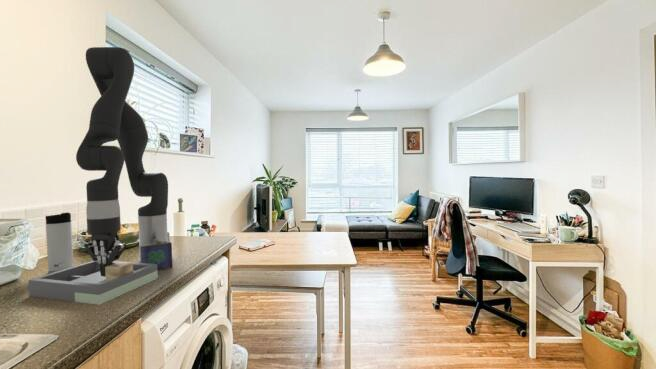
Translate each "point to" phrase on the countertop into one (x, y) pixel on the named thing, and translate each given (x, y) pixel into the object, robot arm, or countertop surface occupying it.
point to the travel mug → (59, 242)
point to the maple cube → (118, 270)
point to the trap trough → (90, 283)
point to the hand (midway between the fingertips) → (106, 275)
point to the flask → (157, 254)
